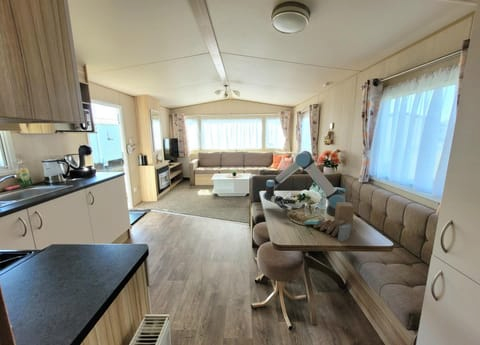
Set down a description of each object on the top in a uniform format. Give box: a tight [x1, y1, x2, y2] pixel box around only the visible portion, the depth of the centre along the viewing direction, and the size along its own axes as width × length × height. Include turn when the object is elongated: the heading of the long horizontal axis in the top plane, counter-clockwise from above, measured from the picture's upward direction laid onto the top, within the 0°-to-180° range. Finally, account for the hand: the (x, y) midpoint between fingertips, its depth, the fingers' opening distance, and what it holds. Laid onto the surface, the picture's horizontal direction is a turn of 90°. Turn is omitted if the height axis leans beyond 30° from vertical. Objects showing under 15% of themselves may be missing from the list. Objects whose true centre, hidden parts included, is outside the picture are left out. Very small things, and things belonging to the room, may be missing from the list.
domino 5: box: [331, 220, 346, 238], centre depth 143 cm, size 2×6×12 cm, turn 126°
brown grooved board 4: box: [325, 220, 341, 235], centre depth 145 cm, size 2×6×12 cm
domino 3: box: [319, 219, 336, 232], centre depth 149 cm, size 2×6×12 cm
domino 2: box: [312, 219, 332, 229], centre depth 153 cm, size 2×6×12 cm
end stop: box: [337, 223, 351, 242], centre depth 140 cm, size 9×3×10 cm, turn 126°
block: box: [333, 201, 355, 234], centre depth 152 cm, size 10×10×20 cm
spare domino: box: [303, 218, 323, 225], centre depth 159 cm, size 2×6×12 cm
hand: (296, 206), depth 170 cm, fingers open, 13 cm apart
